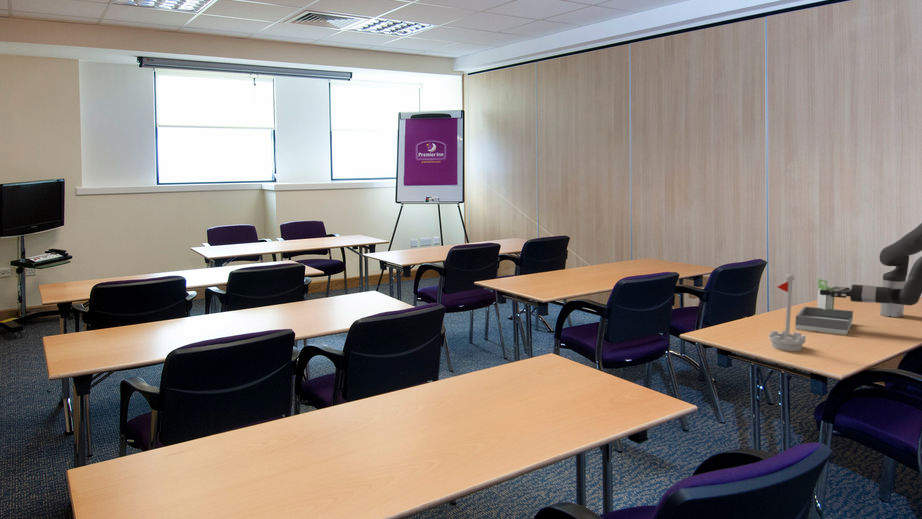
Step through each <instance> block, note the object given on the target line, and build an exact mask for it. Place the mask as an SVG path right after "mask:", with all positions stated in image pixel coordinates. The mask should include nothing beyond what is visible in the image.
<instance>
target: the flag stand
mask: <svg viewBox="0 0 922 519" xmlns="http://www.w3.org/2000/svg"><path fill="white" fill-rule="evenodd" d="M785 279H786V280H787V281H786V282H784V283H782V284H780V285H778V286H777V288H778V289H780V290H782V291H784V292H786V311H785V313H786V315H785V330H781V332H778V330H771V331H770V332H769V334H768V338H769V341H771V348H773V347H774V348H773V349H775V348H776V350H779V349H781V350H780V351H785V350H787V352H788V351H789V352H797V351H801V350H802V349H803V345H804V344H805V343H806V335H805V334H802V332H798V331H794V332H793V333H790V329H791V311H792V310H791V309H792V293H793V292H792V289H793V281H794V280H795V276H794V275H793V274H792V273H789V274H786V277H785Z"/></svg>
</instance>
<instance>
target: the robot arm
mask: <svg viewBox="0 0 922 519" xmlns="http://www.w3.org/2000/svg"><path fill="white" fill-rule="evenodd" d="M920 252H922V222H921V223H920V224H918V225H917V226H916V227H915V228H914V229H912V230H911V231H909V232H908V233H906V234H905V235H903V236H902V237H901V238H899V239H898V240H897V241H895V242H894V243H891V244H890V245H888V246H885V247H884V248H883V249H882V250H881V251H880V253H879V261H880V263H881V264H882V265H883V266H885V267H886V266H887V267H894V269H892V270H890V271H887V272H885V273H883V275H882V284H881V285H882V286H873V285H867V284H865V285H864V284H851V286H850V287H844V286H831V288H834V289H835V290H820V295H830V296H831V297H834V298H843V299H846V298H847V297H849V298H850V302H856V303H857V302H858V303H866V304H867V303H868V304H869V303H870V304H875V303H876V304H880V315H881V316H884V317H889V316H891V317H892V318H902V316H903V317H904V308H905V306H914V305H916V304H918V302H919V301H920V298H921V295H922V255H921V256H920V257H919V258H917V260H915V262H914V263H913V265H912V267H911V269H910V270H909V273H908V269H909V263H910V256H913V255H916V254H918V253H920ZM834 293H835V294H834ZM891 317H890V318H891Z"/></svg>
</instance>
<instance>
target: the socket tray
mask: <svg viewBox="0 0 922 519" xmlns="http://www.w3.org/2000/svg"><path fill="white" fill-rule="evenodd" d="M853 316H854V310H847V309H846V310H844V309H835V308H834V310H825V309H822V308H819V307H813V306H812V307H811V306H803V307H802V308H801V309H800V311H799V312H798V313H797V314H796V315H795V325H794V329H795V330H798V331H799V330H800V331H808V332H816V331H817V332H818V333H819V332H820V333H827V334H835V335H836V334H837V335H844V336H847V335H848V334H849V332H848V331H850V330H851V327H852V326H853ZM817 332H816V333H817Z"/></svg>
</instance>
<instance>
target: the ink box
mask: <svg viewBox="0 0 922 519" xmlns="http://www.w3.org/2000/svg"><path fill="white" fill-rule="evenodd" d="M821 282H823V283H821ZM817 283H818V286H817V287H818V288H817V305H816V308H822V309H825V310H834V309H835V308H834V307H835V306H834V305H835V297H831V296H830V295H820V290H835V289H834V288H832V286H828V280H826V279H823V278H818V282H817ZM834 294H835V293H834Z"/></svg>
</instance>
